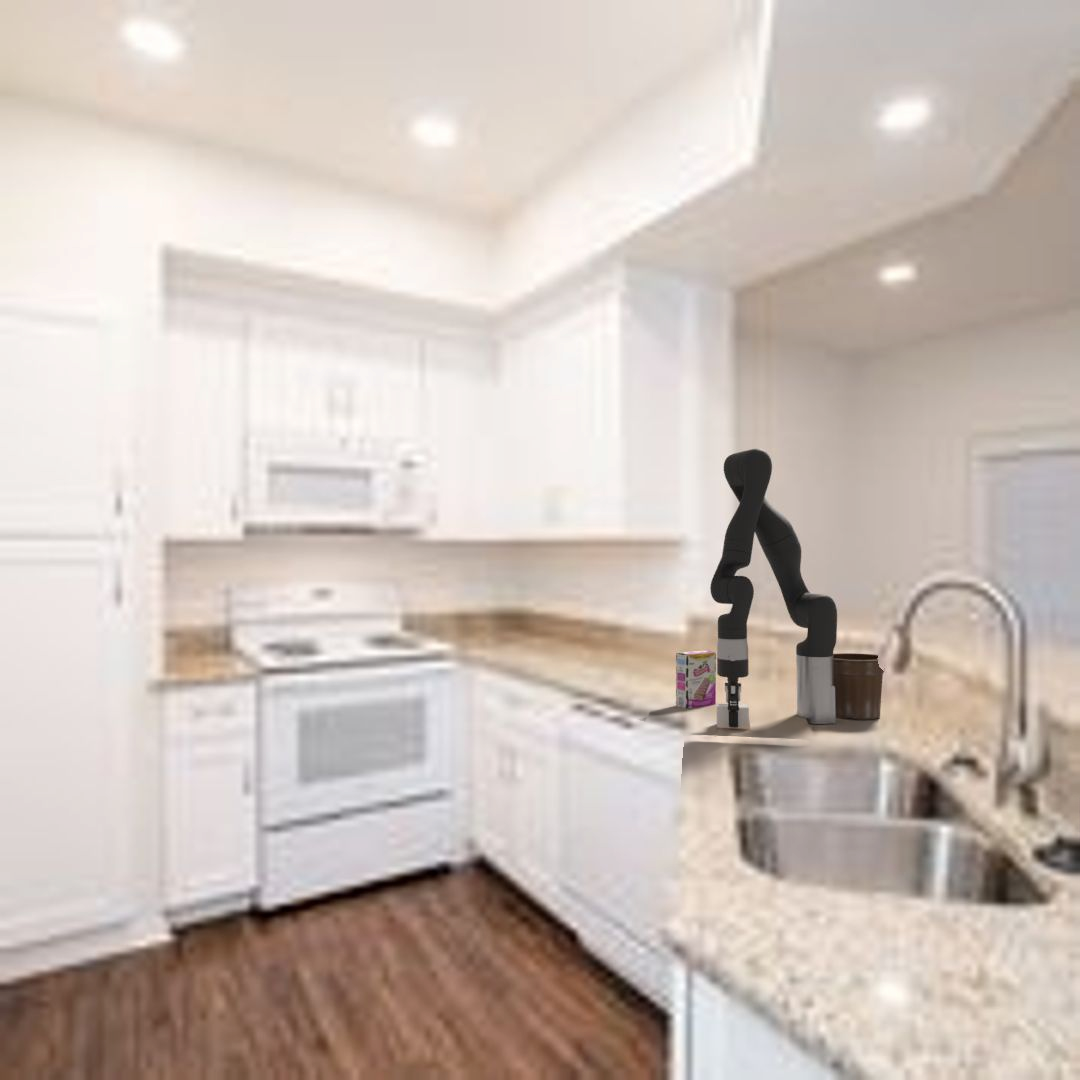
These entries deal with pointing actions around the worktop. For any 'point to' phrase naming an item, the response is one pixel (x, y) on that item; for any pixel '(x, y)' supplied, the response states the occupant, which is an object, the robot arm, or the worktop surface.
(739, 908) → the worktop surface
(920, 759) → the worktop surface
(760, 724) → the worktop surface
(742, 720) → the connector housing
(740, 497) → the robot arm
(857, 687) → the plant pot
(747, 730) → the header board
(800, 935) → the worktop surface
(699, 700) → the candy bar box
